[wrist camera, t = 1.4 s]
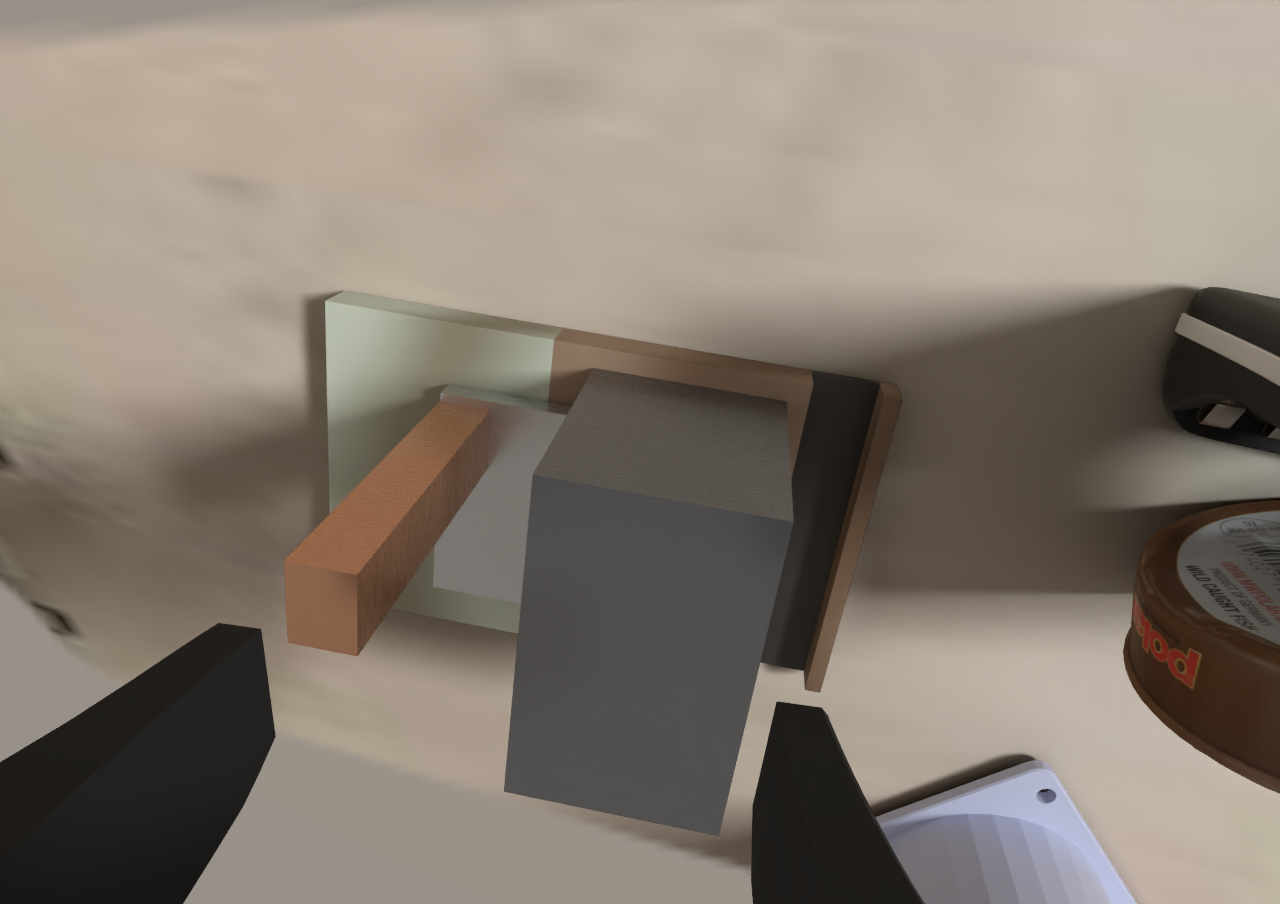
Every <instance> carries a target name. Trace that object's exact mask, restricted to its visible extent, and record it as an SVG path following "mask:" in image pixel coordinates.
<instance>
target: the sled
mask: <svg viewBox="0 0 1280 904" xmlns="http://www.w3.org/2000/svg"><path fill="white" fill-rule="evenodd" d="M571 407H572V406H569V405H563V404H558V403H552V402H546V401H540V400H535V399H529V398H523V397H518V396H512V395H506V394H501V393H495V392H489V391H484V390H478V389H472V388H467V387H461V386H455V385H450V384H449V385H448V386H447V387H446V388H445V389H444V390H443V391H442V392H441V393H440V402H439V403H438V404H437V405H436V406H435V407H434V408H433V409H432V410H431V411H430V412H429V413H428V414H427V415H426V416H425V417H424V418H423V419H422V420H421V421H420V422H419V423H418V424H417V425H416V426H415V427H414V428H413V429H412V430H411V431H410V432H409V433H408V434H407V435H406V436H405V437H404V438H403V439H402V440H401V442H400V443H399V444H398V445H397V446H396V447H395V448H394V449H393V450H392V451H391V452H390V453H389V454H388V455H387V456H386V457H385V458H384V459H383V460H382V461H381V462H380V463H379V464H378V465H377V466H376V467H375V468H374V469H373V470H372V471H371V472H370V473H369V474H368V475H367V476H366V477H365V478H364V479H363V480H362V481H361V482H360V483H359V484H358V486H357V487H356V488H355V489H354V490H353V491H352V492H351V493H350V494H349V495H348V496H347V497H346V498H345V499H344V500H343V501H342V502H341V503H340V504H339V505H338V506H337V507H336V508H335V509H334V510H333V511H332V512H331V513H330V514H329V515H328V516H327V517H326V518H325V519H324V520H323V521H322V522H321V523H320V524H319V525H318V526H317V527H316V529H315V530H314V531H313V532H312V533H311V534H310V535H309V536H308V537H307V538H306V539H305V540H304V541H303V542H302V543H301V544H300V545H299V546H298V547H297V548H296V549H295V550H294V551H293V552H292V553H291V554H290V555H289V556H288V557H287V558H286V559H285V560H284V571H285V592H286V613H287V634H288V643H293V644H298V645H303V646H308V647H313V648H318V649H323V650H328V651H333V652H338V653H343V654H348V655H353V656H358V655H359V653H360V652H361V651H362V649H363V648H364V646H365V645H366V643H367V642H368V640H369V639H370V638H371V636H372V635H373V633H374V632H375V630H376V629H377V627H378V626H379V625H380V623H381V622H382V620H383V619H384V617H385V616H386V615H387V613H388V612H389V610H390V609H391V607H392V606H393V604H394V603H395V602H396V600H397V599H398V597H399V596H400V594H401V593H402V592H403V590H404V589H405V587H406V586H407V584H408V583H409V581H410V580H411V579H412V577H413V576H414V574H415V573H416V571H417V570H418V568H419V567H420V566H421V564H422V563H423V561H424V560H425V558H426V557H427V556H428V554H429V553H430V551H431V550H432V548H433V547H434V545H435V547H434V573H433V587H437V588H442V589H447V590H452V591H458V592H463V593H468V594H473V595H478V596H483V597H489V598H494V599H499V600H504V601H509V602H515V603H520V604H521V597H522V586H523V575H524V564H525V553H526V542H527V531H528V520H529V509H530V498H531V487H532V476H533V473H534V471H535V470H536V468H537V466H538V464H539V463H540V461H541V459H542V457H543V456H544V454H545V452H546V451H547V449H548V447H549V445H550V444H551V442H552V440H553V438H554V437H555V435H556V433H557V431H558V430H559V428H560V426H561V424H562V423H563V421H564V419H565V417H566V416H567V414H568V412H569V411H570V409H571Z"/></svg>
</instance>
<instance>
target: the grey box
mask: <svg viewBox="0 0 1280 904" xmlns="http://www.w3.org/2000/svg"><path fill="white" fill-rule="evenodd" d="M793 523H794V520H793V502H792V484H791V466H790V448H789V430H788V413H787V401H783V400H777V399H771V398H766V397H760V396H754V395H748V394H743V393H737V392H731V391H725V390H719V389H714V388H708V387H702V386H696V385H691V384H685V383H679V382H673V381H667V380H662V379H656V378H650V377H644V376H638V375H633V374H627V373H621V372H615V371H610V370H604V369H598V368H594V369H593V371H592V372H591V374H590V376H589V377H588V379H587V381H586V383H585V384H584V386H583V388H582V390H581V391H580V393H579V395H578V397H577V398H576V400H575V402H574V404H573V405H572V407H571V409H570V411H569V412H568V414H567V416H566V417H565V419H564V421H563V423H562V424H561V426H560V428H559V430H558V431H557V433H556V435H555V437H554V438H553V440H552V442H551V444H550V445H549V447H548V449H547V451H546V452H545V454H544V456H543V457H542V459H541V461H540V463H539V464H538V466H537V468H536V470H535V471H534V473H533V476H532V487H531V498H530V509H529V520H528V531H527V542H526V553H525V564H524V575H523V586H522V597H521V608H520V619H519V630H518V642H517V653H516V664H515V675H514V686H513V697H512V708H511V719H510V730H509V741H508V752H507V763H506V774H505V785H504V792H509V793H514V794H518V795H523V796H528V797H533V798H538V799H542V800H547V801H552V802H557V803H562V804H566V805H571V806H576V807H581V808H586V809H591V810H595V811H600V812H605V813H610V814H615V815H619V816H624V817H629V818H634V819H639V820H644V821H648V822H653V823H658V824H663V825H668V826H672V827H677V828H682V829H687V830H692V831H696V832H701V833H706V834H711V835H716V836H719V832H720V828H721V824H722V820H723V816H724V811H725V807H726V803H727V799H728V795H729V791H730V786H731V782H732V778H733V774H734V770H735V765H736V761H737V757H738V753H739V749H740V745H741V740H742V736H743V732H744V728H745V724H746V719H747V715H748V711H749V707H750V703H751V699H752V694H753V690H754V686H755V682H756V678H757V673H758V669H759V665H760V661H761V657H762V653H763V648H764V644H765V640H766V636H767V632H768V627H769V623H770V619H771V615H772V611H773V607H774V602H775V598H776V594H777V590H778V586H779V581H780V577H781V573H782V569H783V565H784V561H785V556H786V552H787V548H788V544H789V540H790V535H791V531H792V527H793Z"/></svg>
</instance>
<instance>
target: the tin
mask: <svg viewBox="0 0 1280 904" xmlns="http://www.w3.org/2000/svg"><path fill="white" fill-rule="evenodd" d="M1123 654H1124V663H1125V668H1126V671H1127V674H1128V677H1129V679H1130V681H1131V683H1132V685H1133V688H1134V689H1135V690H1136V692H1137V693H1138V695H1139V697H1140V698H1141V700H1142V701H1143V702H1144V703H1145V704H1146V705H1147V706H1148V708H1149V709H1150V710H1151V711H1152V712H1153V713H1154V714H1155V715H1156V716H1157V717H1158V718H1159V719H1160V720H1161V721H1162V722H1163V723H1164V724H1165V725H1166V726H1167V727H1168V728H1170V729H1171V730H1172V731H1173V732H1174V733H1176V734H1177V735H1178V736H1179V737H1180V738H1182V739H1183V740H1185V741H1186V742H1188V743H1189V744H1191V745H1192V746H1193V747H1194V748H1195V749H1197V750H1199V751H1200V752H1202V753H1204V754H1206V755H1207V756H1209V757H1211V758H1212V759H1214V760H1215V761H1217V762H1218V763H1220V764H1221V765H1223V766H1225V767H1227V768H1228V769H1230V770H1232V771H1234V772H1236V773H1238V774H1240V775H1241V776H1243V777H1245V778H1247V779H1249V780H1251V781H1253V782H1255V783H1257V784H1259V785H1261V786H1263V787H1265V788H1267V789H1270V790H1272V791H1275V792H1278V793H1280V500H1273V501H1260V502H1249V503H1240V504H1233V505H1227V506H1221V507H1217V508H1212V509H1208V510H1204V511H1201V512H1198V513H1194V514H1191V515H1188V516H1186V517H1183V518H1180V519H1178V520H1176V521H1174V522H1172V523H1170V524H1169V525H1167V526H1166V527H1164V528H1163V529H1161V530H1160V531H1159V532H1158V533H1157V534H1156V535H1155V536H1154V537H1153V538H1151V539H1150V541H1149V542H1148V543H1147V545H1146V546H1145V548H1144V550H1143V552H1142V554H1141V557H1140V560H1139V563H1138V567H1137V572H1136V579H1135V585H1134V593H1133V607H1132V621H1131V628H1130V629H1129V631H1128V633H1127V636H1126V638H1125V644H1124V650H1123Z"/></svg>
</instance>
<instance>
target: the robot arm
mask: <svg viewBox="0 0 1280 904" xmlns="http://www.w3.org/2000/svg"><path fill="white" fill-rule="evenodd" d="M274 739H275V729H274V722H273V714H272V707H271V699H270V692H269V684H268V677H267V669H266V662H265V654H264V647H263V639H262V632H261V629H257V628H250V627H243V626H236V625H229V624H221V623H218V624H217V625H215V626H213V627H212V628H210V629H209V630H207V631H205V632H204V633H202V634H201V635H199V636H198V637H196V638H194V639H193V640H191V641H190V642H188V643H187V644H185V645H184V646H182V647H181V648H179V649H178V650H176V651H175V652H173V653H172V654H170V655H169V656H167V657H166V658H164V659H163V660H161V661H160V662H158V663H157V664H155V665H154V666H152V667H151V668H149V669H148V670H146V671H145V672H143V673H142V674H140V675H139V676H137V677H136V678H134V679H133V680H131V681H130V682H128V683H127V684H125V685H124V686H122V687H121V688H119V689H118V690H116V691H114V692H113V693H111V694H110V695H108V696H107V697H105V698H104V699H102V700H101V701H99V702H98V703H96V704H94V705H93V706H92V707H90V708H88V709H87V710H85V711H84V712H82V713H81V714H79V715H78V716H76V717H74V718H73V719H71V720H70V721H68V722H67V723H65V724H63V725H61V726H60V727H58V728H56V729H55V730H53V731H51V732H50V733H48V734H46V735H45V736H43V737H42V738H40V739H38V740H36V741H35V742H33V743H31V744H30V745H28V746H26V747H25V748H23V749H21V750H20V751H18V752H17V753H15V754H13V755H12V756H10V757H8V758H7V759H5V760H3V761H2V762H0V904H183V903H184V901H185V900H186V898H187V896H188V895H189V893H190V892H191V890H192V888H193V887H194V885H195V884H196V882H197V880H198V879H199V877H200V876H201V874H202V872H203V871H204V869H205V868H206V866H207V864H208V863H209V861H210V860H211V858H212V857H213V855H214V853H215V852H216V850H217V848H218V847H219V845H220V844H221V842H222V840H223V839H224V837H225V835H226V834H227V832H228V830H229V829H230V827H231V825H232V824H233V822H234V821H235V819H236V817H237V816H238V814H239V812H240V811H241V809H242V807H243V805H244V804H245V801H246V799H247V797H248V795H249V793H250V791H251V789H252V787H253V785H254V783H255V781H256V779H257V776H258V774H259V772H260V770H261V768H262V765H263V763H264V761H265V759H266V757H267V754H268V752H269V750H270V748H271V746H272V743H273V741H274ZM1042 789H1050V790H1048V791H1047V792H1042V793H1041V792H1039V791H1040V790H1042ZM751 883H752V896H753V904H1137V902H1136V900H1135V899H1134V897H1133V896H1132V894H1131V892H1130V891H1129V889H1128V888H1127V886H1126V884H1125V883H1124V881H1123V880H1122V878H1121V877H1120V875H1119V873H1118V872H1117V870H1116V869H1115V867H1114V865H1113V864H1112V862H1111V861H1110V859H1109V857H1108V856H1107V854H1106V853H1105V851H1104V849H1103V848H1102V846H1101V845H1100V843H1099V842H1098V840H1097V838H1096V837H1095V835H1094V834H1093V832H1092V830H1091V829H1090V827H1089V826H1088V824H1087V822H1086V821H1085V819H1084V818H1083V816H1082V814H1081V813H1080V811H1079V810H1078V808H1077V806H1076V805H1075V803H1074V802H1073V800H1072V799H1071V797H1070V795H1069V794H1068V792H1067V791H1066V789H1065V787H1064V786H1063V784H1062V783H1061V781H1060V779H1059V778H1058V776H1057V775H1056V773H1055V771H1054V770H1053V768H1052V767H1051V766H1050V765H1049V764H1048V763H1045V762H1043V761H1036V760H1033V761H1028V762H1025V763H1022V764H1020V765H1017V766H1014V767H1011V768H1009V769H1006V770H1003V771H1000V772H998V773H995V774H992V775H989V776H987V777H984V778H981V779H978V780H976V781H973V782H970V783H967V784H965V785H962V786H959V787H956V788H954V789H951V790H948V791H945V792H943V793H940V794H937V795H934V796H932V797H929V798H926V799H924V800H921V801H918V802H915V803H913V804H910V805H907V806H904V807H902V808H899V809H896V810H893V811H891V812H888V813H885V814H882V815H880V816H877V817H875V816H874V814H873V812H872V810H871V808H870V806H869V804H868V802H867V800H866V798H865V796H864V794H863V792H862V790H861V788H860V786H859V784H858V782H857V780H856V778H855V776H854V774H853V772H852V770H851V768H850V765H849V763H848V761H847V759H846V757H845V755H844V752H843V750H842V748H841V746H840V743H839V741H838V739H837V737H836V734H835V732H834V730H833V727H832V725H831V722H830V720H829V717H828V715H827V714H826V713H825V711H824V710H823V709H822V708H820V707H813V706H805V705H798V704H791V703H784V702H777V703H776V707H775V711H774V716H773V720H772V724H771V729H770V733H769V737H768V742H767V746H766V750H765V755H764V759H763V764H762V768H761V772H760V777H759V781H758V785H757V790H756V794H755V798H754V803H753V818H752V867H751Z"/></svg>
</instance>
